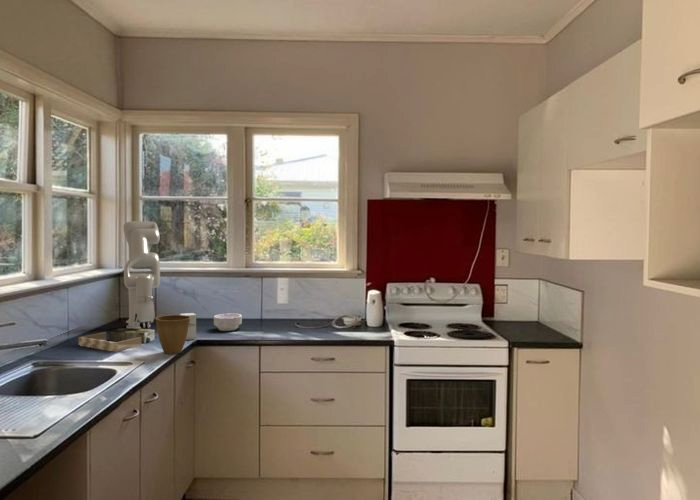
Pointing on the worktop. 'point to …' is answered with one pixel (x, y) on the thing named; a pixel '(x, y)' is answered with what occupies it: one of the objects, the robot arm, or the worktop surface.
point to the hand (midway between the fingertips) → (144, 335)
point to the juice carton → (131, 334)
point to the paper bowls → (227, 321)
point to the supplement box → (191, 326)
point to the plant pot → (172, 332)
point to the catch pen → (107, 342)
